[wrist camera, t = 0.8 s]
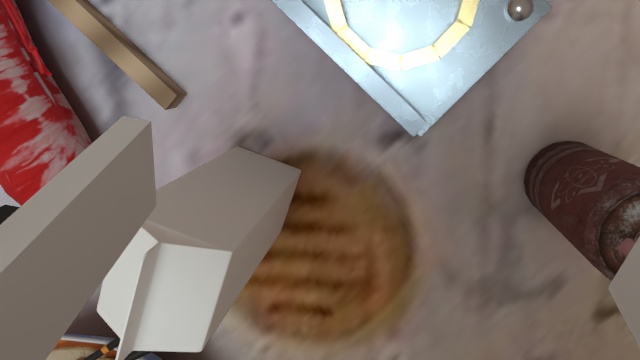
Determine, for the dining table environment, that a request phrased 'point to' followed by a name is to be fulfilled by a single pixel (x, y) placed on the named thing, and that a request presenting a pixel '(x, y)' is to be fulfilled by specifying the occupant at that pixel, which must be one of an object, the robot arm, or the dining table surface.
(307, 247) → the dining table surface
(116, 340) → the ramen bowl
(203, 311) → the milk
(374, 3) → the bolted ring bracket
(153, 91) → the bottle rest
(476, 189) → the dining table surface
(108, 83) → the dining table surface
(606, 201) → the can
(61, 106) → the water bottle
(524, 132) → the dining table surface
